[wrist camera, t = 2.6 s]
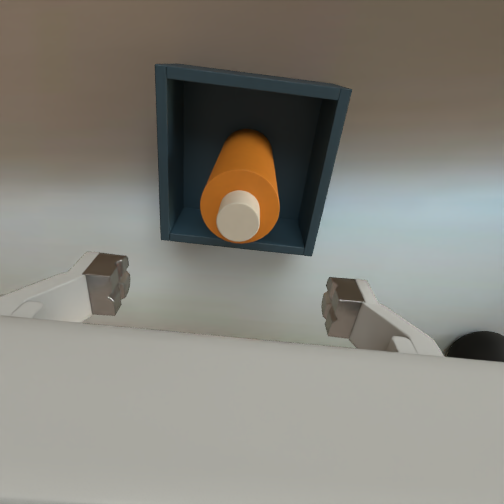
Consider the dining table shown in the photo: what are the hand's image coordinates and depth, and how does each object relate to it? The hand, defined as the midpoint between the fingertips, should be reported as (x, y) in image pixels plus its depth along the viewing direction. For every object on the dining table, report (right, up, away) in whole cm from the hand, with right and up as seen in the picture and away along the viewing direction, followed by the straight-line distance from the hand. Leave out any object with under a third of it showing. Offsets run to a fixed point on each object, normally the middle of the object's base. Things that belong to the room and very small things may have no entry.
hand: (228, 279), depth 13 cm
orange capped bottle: (0, +10, +18) cm, 20 cm away
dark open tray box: (0, +11, +18) cm, 21 cm away
